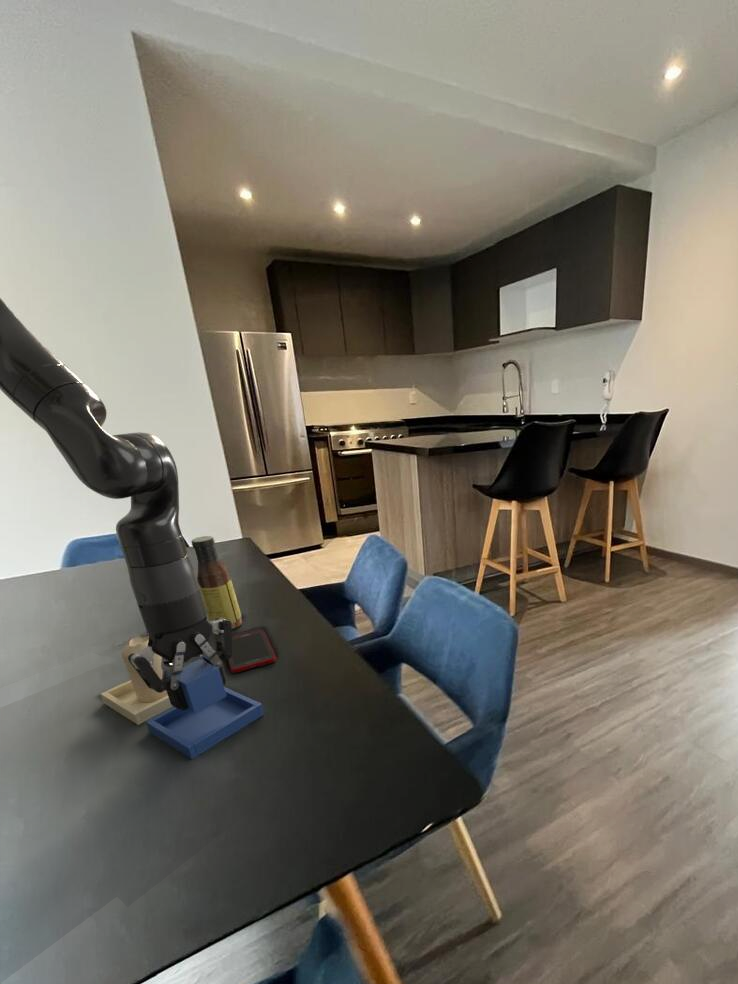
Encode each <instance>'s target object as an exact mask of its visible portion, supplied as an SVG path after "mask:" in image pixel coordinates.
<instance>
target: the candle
mask: <svg viewBox="0 0 738 984" xmlns="http://www.w3.org/2000/svg"><path fill="white" fill-rule="evenodd" d="M148 641H149V635H147V636H144V637H139V636H138V637H137V636H136V637H133V638H131V639H130V641H129V642H128V643H127V644H126V646H124V648H123V649H122V651H121V657H122V660H123V663H124V664H125V668H126V671H127V674H128V676H129V679H130V680H131V682H132V685H133V688H134V690H135V693H136V696H137V698H138V700H139V701H141V702H154V701H157V700H160V699H162V698H164V697H166V696H168V694H167V691H166V690H165V691H163V692H161V693H158V692H156V691H155V690H153V689H151V688H149V687H148V686H147V685H146V684H145V682H144V681H143V679H142V678H141V677H140V675H139V674H138V673H137V671H136V670H135V669H134V667H133V666H132V665H131V663H130V662H129V661H128V656H129V655H130V654H132V653H135V654H138V653H139V652H141V651H142V650H144V649H145V648H147V647H148ZM152 658H153V665H151V667H152V668H153V669H154V671H155V672H156V674H157V675H158V676H159V678H160V679H162V672H163V671H162V668H161V660H162V657H161V656H159V655H157V654H154V655H153V657H152Z"/></svg>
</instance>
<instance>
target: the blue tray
mask: <svg viewBox="0 0 738 984" xmlns="http://www.w3.org/2000/svg"><path fill="white" fill-rule="evenodd" d="M224 689H225V692H226V697H225V698H223V699H221V700H219V701H218V702H216V703H214V704H212V705H210V706H209V707H207V708H205V709H203V710H201V711H200V712H198V713H196V714H194V713H192V712H190V711H188V710H187V709H186V710H184V711H182V710H180V709H177V708H175V707H172V708H170V709H168V710H166V711H164V712H162V713H160V714H158V715H157V716H155V717H153V718H151V719H149V720H147V721H145V724H146V726H147V729H148V733H150V734H152V735H153V736H155V737H156V738H158V739H159V740H161V741H162V742H164V743H165V744H166V745H168V746H170V747H171V748H173V749H175V750H177V751H178V752H180V753H181V754H183V755H185V756H186V757H188V758H189V759H190V760H193V759H195V758H196V757H198V756H199V755H201V754H203V753H204V752H206V751H208V750H209V749H211V748H212V747H214V746H216V745H217V744H220V742H222V741H223V740H226V739H227V738H229V737H230V736H232V735H234V734H235V733H237V732H238V731H240V730H242V729H243V728H245V727H246V726H248V725H250V724H251V723H253V722H255V721H256V720H258V719H259V718H261V717H263V716H264V715H265V711H264V707H263V704H262V703H260V702H259V701H256V700H254V699H252V698H249V697H248V696H245V695H244V694H241V693H239V692H236V691H234V690H232V689H230V688H228V687H226V686H224Z"/></svg>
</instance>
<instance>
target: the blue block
mask: <svg viewBox="0 0 738 984" xmlns="http://www.w3.org/2000/svg"><path fill="white" fill-rule="evenodd" d="M180 687H182V690H183V693H184V696H185V699H186V702H187V705H188V709H187V710H188V711H190V712H192V713H194V714H196V713H198V712H200V711H201V710H203V709H205V708H207V707H209V706H210V705H212V704H214V703H216V702H218V701H219V700H221V699H223V698H225V697H226V692H225V689H224V687H225V685H223V682H222V678H221V675H220V671H219V668H218V667H216V666H214V665H211V664H209V663H207V662H205V661H204V660H203V659H198V660H195V661H193V662H191V663H189V664H187V665H185V666H183V672H182V673H181V674H180Z"/></svg>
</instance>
